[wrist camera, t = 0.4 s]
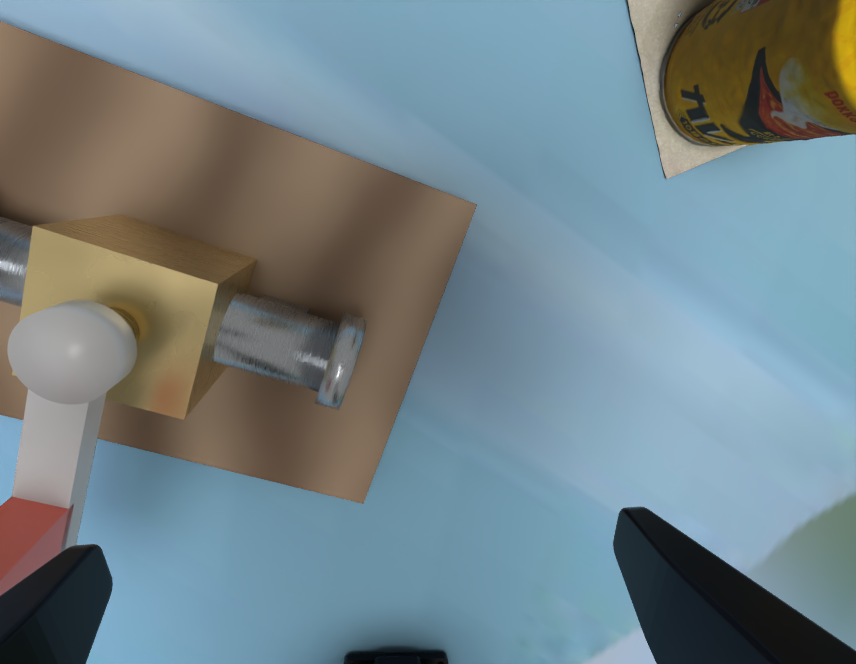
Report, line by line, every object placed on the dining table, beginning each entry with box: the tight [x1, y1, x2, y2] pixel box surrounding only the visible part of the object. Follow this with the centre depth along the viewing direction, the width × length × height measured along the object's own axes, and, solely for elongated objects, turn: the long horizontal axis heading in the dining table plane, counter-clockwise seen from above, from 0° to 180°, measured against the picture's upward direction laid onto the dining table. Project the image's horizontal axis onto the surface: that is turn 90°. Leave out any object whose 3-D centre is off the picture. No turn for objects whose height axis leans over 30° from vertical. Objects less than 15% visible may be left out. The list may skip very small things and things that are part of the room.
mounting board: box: [0, 21, 477, 504], centre depth 22 cm, size 22×16×2 cm
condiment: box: [628, 0, 856, 179], centre depth 16 cm, size 7×8×12 cm
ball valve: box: [0, 214, 367, 420], centre depth 18 cm, size 16×5×6 cm, turn 70°
